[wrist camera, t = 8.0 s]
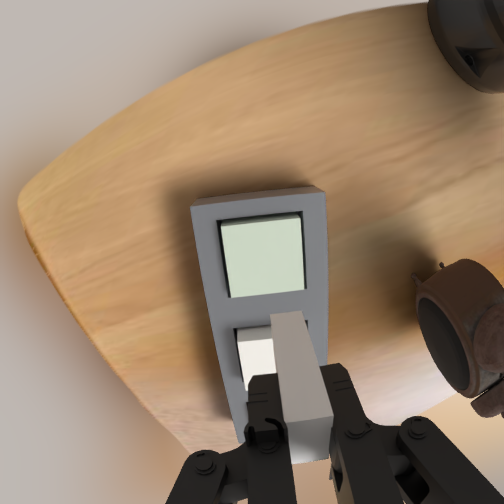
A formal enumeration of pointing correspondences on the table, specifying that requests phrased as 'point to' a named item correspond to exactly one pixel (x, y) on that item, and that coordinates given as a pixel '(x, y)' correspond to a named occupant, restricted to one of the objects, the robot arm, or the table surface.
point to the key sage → (263, 254)
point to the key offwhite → (256, 351)
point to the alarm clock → (466, 331)
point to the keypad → (261, 306)
